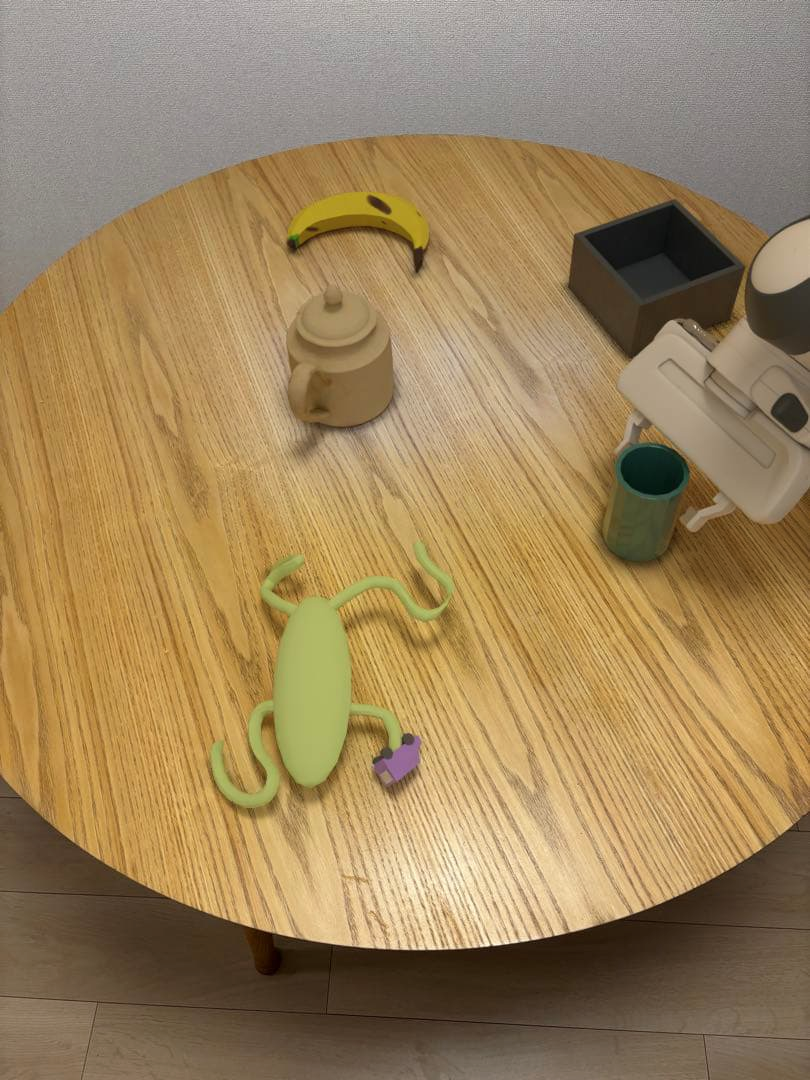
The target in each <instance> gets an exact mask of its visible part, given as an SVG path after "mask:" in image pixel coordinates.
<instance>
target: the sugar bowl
mask: <svg viewBox="0 0 810 1080" xmlns="http://www.w3.org/2000/svg"><path fill="white" fill-rule="evenodd" d="M285 341H286V342H285V343H286V344H285V345H286V351H287V356H288V357H287V358H288V362H289V368H290V373H291V376H290V378H289V382H288V388H287V399H288V404H289V408H290V411H291V412H292V414H293V415H294V416H295V418H297V419H299V420H300V421H302V422H305V423H320V424H323V425H326V426H330V427H339V428H343V427H353V426H359V425H361V424H364V423H367V422H369V421H372V420H373V419H375V418H377V417H378V416H379V415H381V414H382V413H383V412H384V411H386V408H387V407H389V405H390V403H391V401H392V398H393V396H394V392H395V391H394V389H395V381H394V357H393V348H392V347H393V346H392V338H391V330H390V326H389V323H388V321H387V319H386V318H385V317H384V315H383V314H382V313H381V312H380V311H378V309H376V308H375V307H374V305H373V304H372V302H371V301H370V300H368V298H366V297H365V296H364V295H362V294H358V293H355V292H352V291H346V290H341V288H339V286H337V285H336V284H333V283H332V284H329V285H327V287H326V288H325V290H324V291H323V292H322V293H320V294H317V295H314V296H313V297H311V298H309V299H308V300H307V301H305V302H304V303H303V304H302V305H301V307H300V308H299V309H298V311H297V313H296V317H295V318H294V319H293V321H292V322H291V323H290V325H289V326H288V328H287V332H286V336H285Z"/></svg>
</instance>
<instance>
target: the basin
mask: <svg viewBox="0 0 810 1080" xmlns="http://www.w3.org/2000/svg"><path fill="white" fill-rule="evenodd" d="M746 268H747V267H746V265H745V264H744V263H743V262H742V261H741V260H740V259H738V257H737V256H736V255H735V254H734V253H733V252H731V250H729V249H728V248H727V247H726V246H725V245H724V244H723V243H722V242H721V241H720V240H719V239H718V238H717V237H716V236H715V235H714V234H713V233H712V232H710V230H708V228H706V226H705V225H703V224H702V223H701V222H700V221H699V220H698V219H697V217H695V216H694V215H693V214H692V213H691V212H690V211H688V209H687V208H686V207H684V205H683V204H681V202H680V201H678V199H676V198H673V199H670V200H668V201H665V202H662V203H661V202H660V203H659V204H656V205H653V206H650V207H647V208H644V209H641V210H639V211H636V212H633V213H631V214H630V213H629V214H627V215H625V216H622V217H619V218H616V219H613V220H611V221H608V222H605V223H602V224H598V225H597V226H593V227H590V228H586V229H585V230H582V231H578V232H575V233H574V234H573V241H572V250H571V259H570V266H569V276H568V283H567V284H568V285H567V286H568V288H569V289H570V290H571V291H572V292H573V293H574V295H575V296H576V297H577V298H578V300H580V302H581V303H582V304H583V305H584V306H585V307H586V309H587V310H588V311H589V312H590V313H591V315H592V316H593V317H594V318H595V319H596V320H597V322H599V324H600V325H601V326H602V327H603V329H604V330H606V332H607V333H608V334H609V335H610V337H611V338H612V339H613V340H614V341H615V342H616V344H617V345H618V346H619V347H620V348H621V350H623V351H624V353H625V354H626V355H627V356H628V357H629V358H632V357H636V356H637V355H638V354H639V353H640V352H641V351H642V350H643V349H644V348H646V347H647V346H648V345H649V344H650V343H651V342H653V340H654V338H655V336H656V335H657V334H658V332H659V331H660V330H661V329H662V328H663V327H664V325H665V324H666V323H667V322H669V321H670V320H674V319H679V318H681V319H686V320H687V319H692V320H694V321H696V322H697V323H698V324H699V325H700V326H701V328H702V329H703V330H705V329H707V328H710V327H712V326H715V325H718V324H720V323H723V322H726V321H728V320H731V318H732V314H733V311H734V308H735V304H736V300H737V298H738V295H739V294H738V293H739V291H740V287H741V284H742V280H743V277H744V274H745V271H746ZM678 324H679V325H681V326H682V327H683V323H678ZM683 328H684V327H683Z"/></svg>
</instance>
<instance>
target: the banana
mask: <svg viewBox="0 0 810 1080" xmlns="http://www.w3.org/2000/svg"><path fill="white" fill-rule="evenodd" d="M350 227H372V228H379V229H384V230H387V231H389V232H392V233H395V234H397V235H399V236H402V237H403V238H405V239H406V240H408V241H409V242H411V244H412V245H413V246H412V247H413V262H414V268H415V272H416V273H419V269H420V268H421V266H422V263H423V260H424V251H425V249H426V248H427V246H428V245H429V242H430V228H429V225H428V222H427V219H426V218H425V216H424V214H423V213H422V212H421V210H419V208H418V207H417V206H416V205H415V204H414V203H411V202H410V201H408V200H406V199H404V198H402V197H401V196H398V195H393V194H390V193H389V194H388V193H385V192H378V191H373V190H366V191H365V190H364V191H363V190H362V191H350V192H348V191H347V192H341V193H336V194H334V195H331V196H328V197H324V198H321V199H319V200H316V201H315V202H313V203H311V204H308V205H307V206H305V207H303V208H302V209H301V210H300V211H299V212H298V213H297V214H296V215H295V216H294V217H293V218H292V220H291V222H290V224H289V226H288V228H287V230H286V244H287V246H288V247H289V248H290V250H297V248H298V247H299V246H301V245H302V244H303V243H304V242H306V241H307V240H309V239H311V238H313V237H314V236H316V235H318V234H321V233H325V232H328V231H332V230H337V229H345V228H350Z"/></svg>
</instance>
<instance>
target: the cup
mask: <svg viewBox="0 0 810 1080" xmlns="http://www.w3.org/2000/svg"><path fill="white" fill-rule="evenodd" d="M690 474H691V470H690V467H689V465H688V463H687V460H686V459H685V458H684V457H683V456H682V455H681V454H680V453H679V452H678V451H677V450H676V449H674V448H672V447H669V446H667V445H665V444H662V443H658V442H657V443H656V442H640V443H638V444H635V445H633V446H631V447H629V448H627V449H625V450H624V451H623V452H622V453H621V454H620V456H619V457H618V458H617V457H616V459H615V464H614V469H613V474H612V480H611V484H610V488H609V493H608V497H607V503H606V508H605V513H604V518H603V525H602V528H601V529H602V530H601V531H602V538H603V541H604V543H605V545H606V547H607V548H608V549H609V550H610V551H611V552H612V553H613V554H614V555H616V556H617V557H619V558H622V559H623V560H626V561H629V562H630V561H631V562H639V563H640V562H641V563H643V562H648V561H652V560H655V559H657V558H659V557H660V556H662V555H663V554H664V553H665V552H666V551H667V550H668V548H669V545H670V542H671V541H672V538H673V535H674V531H675V528H676V525H677V522H678V520H679V515H680V512H681V509H682V505H683V503H684V499H685V496H686V492H687V489H688V486H689V482H690V476H691V475H690Z"/></svg>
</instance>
